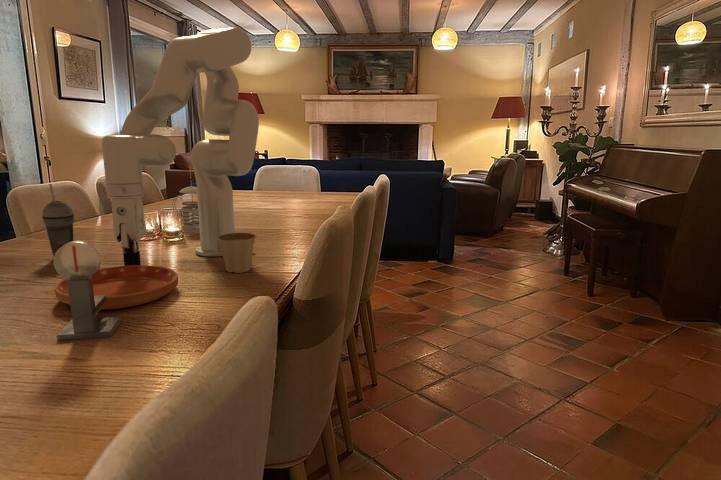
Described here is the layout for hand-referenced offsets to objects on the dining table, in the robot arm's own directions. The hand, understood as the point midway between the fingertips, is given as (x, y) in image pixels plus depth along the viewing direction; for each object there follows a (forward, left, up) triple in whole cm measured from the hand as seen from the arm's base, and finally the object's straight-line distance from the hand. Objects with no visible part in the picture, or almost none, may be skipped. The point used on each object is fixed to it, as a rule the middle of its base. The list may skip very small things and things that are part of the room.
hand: (133, 268), depth 112 cm
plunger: (0, +28, 0) cm, 28 cm away
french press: (-7, -55, -2) cm, 56 cm away
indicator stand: (0, +31, -2) cm, 31 cm away
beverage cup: (+22, -21, -2) cm, 31 cm away
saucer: (0, +13, -3) cm, 13 cm away
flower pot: (-24, -1, -2) cm, 24 cm away
